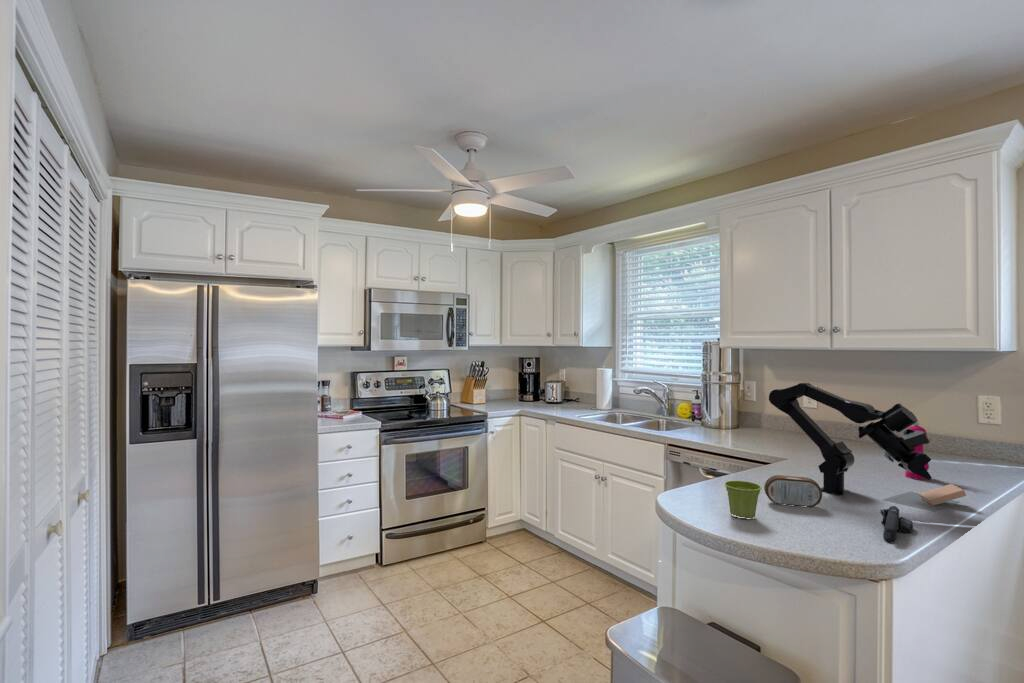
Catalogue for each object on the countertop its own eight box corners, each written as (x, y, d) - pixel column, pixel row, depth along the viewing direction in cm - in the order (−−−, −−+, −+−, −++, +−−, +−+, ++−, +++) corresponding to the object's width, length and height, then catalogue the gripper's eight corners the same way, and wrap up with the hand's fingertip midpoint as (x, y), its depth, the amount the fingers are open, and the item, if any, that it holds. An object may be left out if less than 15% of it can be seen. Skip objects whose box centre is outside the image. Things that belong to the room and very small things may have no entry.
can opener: (881, 522, 140) (881, 501, 141) (914, 528, 136) (914, 507, 136) (870, 540, 127) (870, 517, 127) (906, 548, 123) (906, 523, 123)
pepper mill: (925, 476, 190) (925, 421, 191) (931, 480, 184) (931, 423, 184) (901, 474, 193) (901, 419, 194) (906, 478, 187) (906, 422, 187)
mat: (933, 513, 148) (933, 511, 148) (882, 501, 159) (882, 499, 159) (960, 503, 157) (960, 501, 157) (909, 493, 168) (909, 491, 168)
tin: (820, 506, 154) (820, 477, 154) (823, 509, 151) (823, 480, 151) (764, 501, 159) (764, 473, 159) (765, 504, 156) (765, 475, 156)
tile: (929, 500, 153) (963, 489, 151) (918, 493, 160) (951, 483, 157) (932, 505, 153) (966, 495, 150) (921, 499, 159) (954, 489, 157)
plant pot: (769, 518, 142) (769, 486, 142) (746, 524, 138) (746, 491, 138) (739, 509, 151) (739, 479, 151) (716, 514, 146) (717, 483, 146)
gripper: (922, 425, 149) (969, 467, 145) (896, 417, 167) (938, 454, 163) (889, 451, 151) (936, 493, 148) (867, 441, 169) (908, 478, 165)
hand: (930, 478), depth 156 cm, fingers closed
